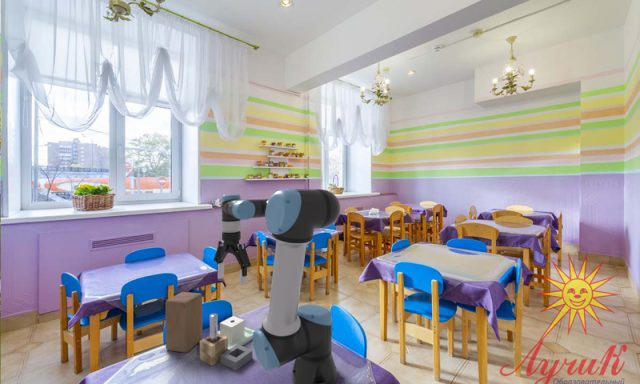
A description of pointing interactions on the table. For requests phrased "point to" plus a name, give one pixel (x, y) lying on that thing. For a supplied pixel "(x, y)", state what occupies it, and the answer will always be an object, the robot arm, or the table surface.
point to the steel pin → (213, 328)
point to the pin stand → (243, 357)
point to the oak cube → (213, 349)
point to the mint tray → (243, 340)
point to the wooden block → (183, 321)
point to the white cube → (233, 329)
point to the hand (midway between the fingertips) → (231, 281)
